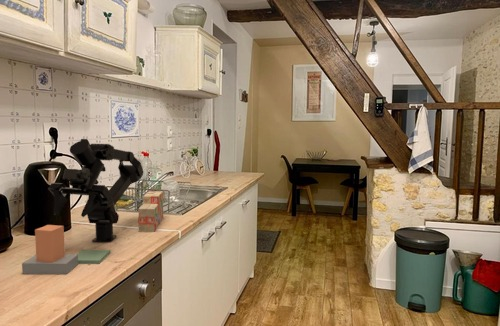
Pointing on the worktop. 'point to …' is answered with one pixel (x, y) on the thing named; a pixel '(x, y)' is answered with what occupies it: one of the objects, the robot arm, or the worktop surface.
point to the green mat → (92, 256)
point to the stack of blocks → (151, 211)
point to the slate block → (50, 265)
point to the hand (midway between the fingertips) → (68, 215)
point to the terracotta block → (49, 243)
